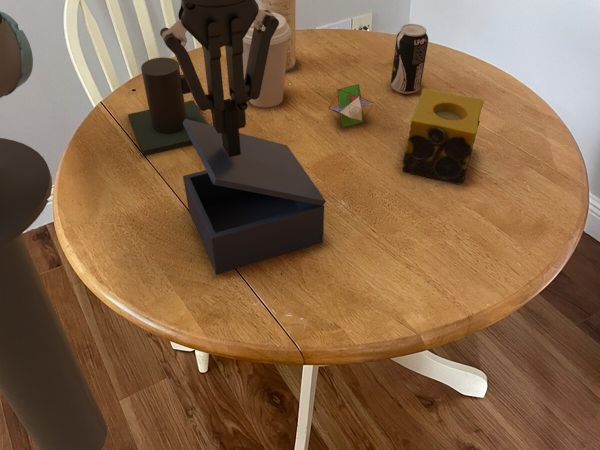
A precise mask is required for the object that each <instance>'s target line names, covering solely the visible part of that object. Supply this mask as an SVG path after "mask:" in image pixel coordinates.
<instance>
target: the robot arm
mask: <svg viewBox="0 0 600 450" xmlns="http://www.w3.org/2000/svg"><path fill="white" fill-rule="evenodd" d="M177 15H178V20H176V22H175V23H173V25H172V26H170V28H169V27H162V28H161V29H160V31H159V35H160V37H161V39H162V41H163V42H164V45H165V46H166V47H167V49H169V50H170V51H171V52H172V53H173V54H174V55H175V59H176V61H177V62H178V63H179V68H180V71H181V72H182V75H183V74H184V77H185V79H186V81H187V84H188V86H189V88H190V91H191V93H190V94H191V95H192V97H193V100H194V102H195V104H196V106H197V108H198V109H199V111H202V112H206V111H208V110H210V113H211V121H212V126H214V128H215V129H216V131H217V133H218V134H219V133H222V142H223V147H224V148H225V150H226V152H227V154H228V155H229V157H233V156H237V155H241V150H240V138H239V133H240V129H243V128H245V127H246V124H247V120H246V118H247V117H246V110H247V109H248V107H249V105H248V102H249V100H251V99H253V100H255V99H257V98H258V97H259V96H260V91H261V86H262V81H263V76H264V71H265V66H266V61H267V56H268V51H269V46H270V41H271V38H272V36H273V35H274V33H275V31H276V29H277V27H278V25H279V21H278V19H277V18H276V17H275V16H274V15H273V14H272V13H271V12H270V11H269V10H264V11H263V10H261V9H260V6H259V4H258V2H257V0H180V7H179V10H178V14H177ZM252 23H253V25H254V30H253V34H252V40H251V46H250V51H249V57H248V62H247V68H246V74H244V67H243V55H242V54H243V52H244V50H243V38H244V37H245V35H246V34H247V32H248V30H249V28H250V27H251V25H252ZM187 32H188V33H189V34H190V35H191V36H192V37H193V38H194V39H195V40H196V41H197V42H198V44H200V45H201V49H202V51H203V60H204V61H203V62H204V68H205V69H204V70H205V77H206V87H207V93H205V90H204V88H203V86H202V83H201V80H200V78H199V76H198V73H197V71H196V69H195V67H194V64H193V62H192V59H191V55H190V54H189V53H188V50H187V49H186V47H185V46H186V45H187V43H188V38H187V37H186V36H187V35H186V33H187ZM223 47H224V50H225V59H226V70H227V81H228V93H229V97H230V98H226V99H225V93H224V83H223V75H222V74H223V73H222V61H221V58H222V48H223ZM33 67H34V55H33V51H32V47H31V44H30V42H29V39H28V36H27V35H26V33H25V32H24V30H23V29H20V28H19V23H18V22H17V21H16V20H15V19H14V18H13V17H12V16H10V15H9V14H7V13H6V12H4V11H2V10H0V99H1V98H3V97H7V96H8V95H11V94H12V93H14V92H15V91H16V89H17V88H19V87H20V86H22V85H23V84H25V83H26V82H27V81H28V79H29V78H30V77H31V74H32V72H33Z"/></svg>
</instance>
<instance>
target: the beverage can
mask: <svg viewBox="0 0 600 450" xmlns="http://www.w3.org/2000/svg"><path fill="white" fill-rule="evenodd" d="M428 44H429V36H428V34H427V28H426V27H425V26H423V25H422V24H418V23H407V24H404V25H402V26H401V27H400V31H398V33H397V34H396V39H395V47H394V52H393V53H394V54H393V63H392V69H391V78H390V87H391V88H392V89H393V90H394V91H396V92H397V93H400V94H403V95H409V94H413V93H416V92H418V91H419V90H420V89H421V87H422V80H423V75H424V70H425V69H424V68H425V63H426V58H427V52H428V51H427V50H428Z"/></svg>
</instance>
